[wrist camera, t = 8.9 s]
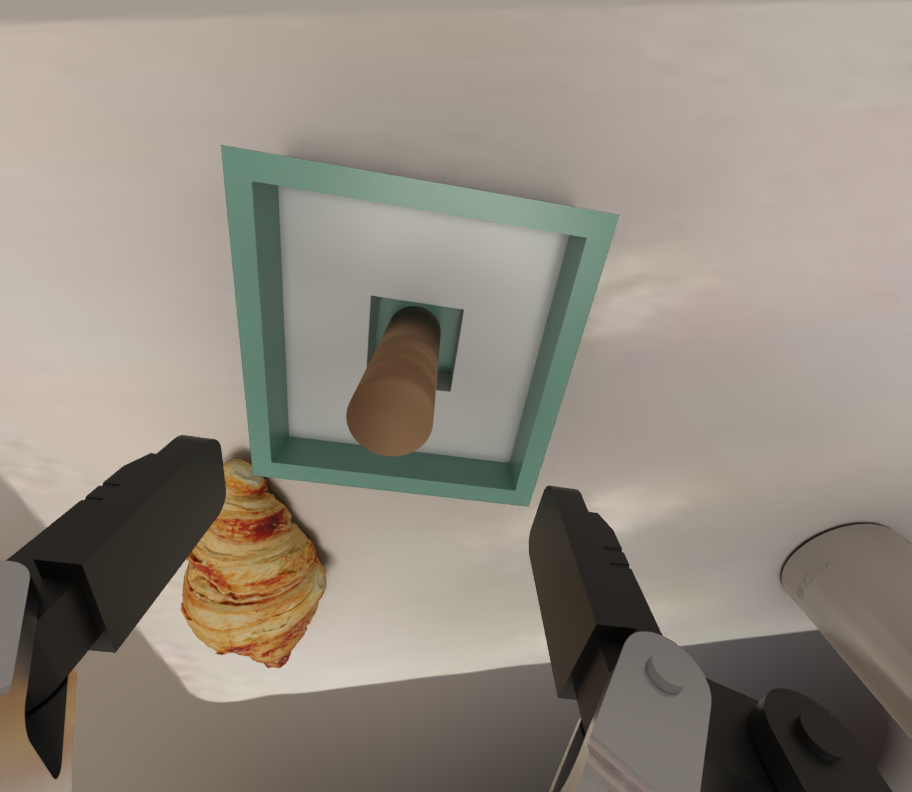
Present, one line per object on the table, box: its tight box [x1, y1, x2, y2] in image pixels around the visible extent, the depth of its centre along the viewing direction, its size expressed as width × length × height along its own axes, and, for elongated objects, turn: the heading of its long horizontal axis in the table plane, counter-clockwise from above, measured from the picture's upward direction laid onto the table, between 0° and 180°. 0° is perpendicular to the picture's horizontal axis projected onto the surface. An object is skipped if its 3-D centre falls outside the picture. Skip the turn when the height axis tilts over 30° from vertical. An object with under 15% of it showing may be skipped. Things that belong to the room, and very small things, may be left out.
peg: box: [346, 306, 441, 456], centre depth 18 cm, size 3×3×10 cm
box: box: [221, 145, 619, 507], centre depth 21 cm, size 15×15×6 cm
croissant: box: [181, 459, 326, 668], centre depth 30 cm, size 21×10×8 cm, turn 178°
